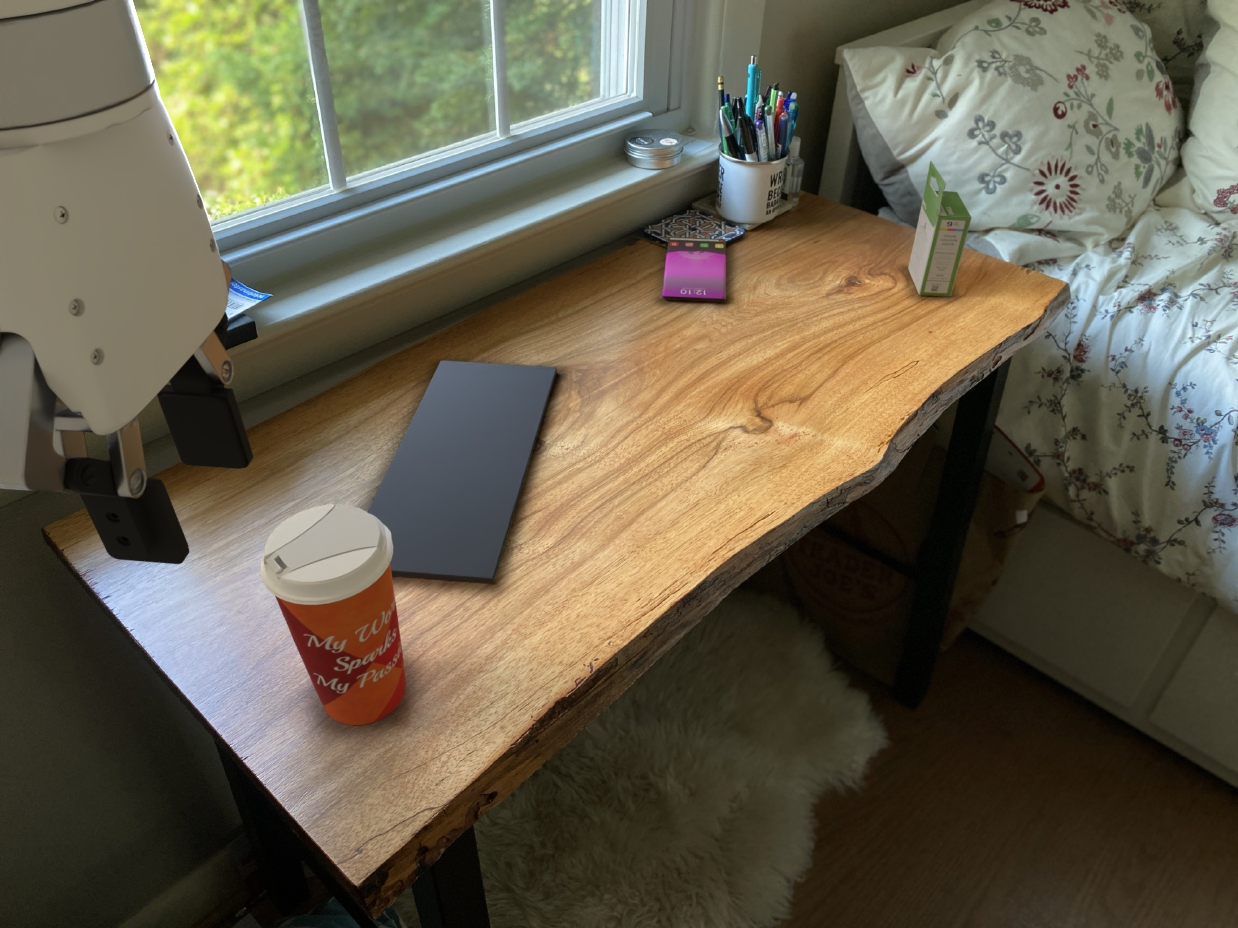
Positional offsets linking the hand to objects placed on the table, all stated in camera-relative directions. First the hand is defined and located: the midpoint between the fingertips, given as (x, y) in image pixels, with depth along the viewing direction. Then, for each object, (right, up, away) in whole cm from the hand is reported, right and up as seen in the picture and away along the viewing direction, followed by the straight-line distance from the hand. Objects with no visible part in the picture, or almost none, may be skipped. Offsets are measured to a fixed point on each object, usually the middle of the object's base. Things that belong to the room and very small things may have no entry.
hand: (185, 503), depth 40 cm
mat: (+5, +2, +44) cm, 44 cm away
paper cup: (+1, -14, +24) cm, 28 cm away
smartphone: (+28, +25, +72) cm, 81 cm away
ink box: (+55, +23, +70) cm, 92 cm away
